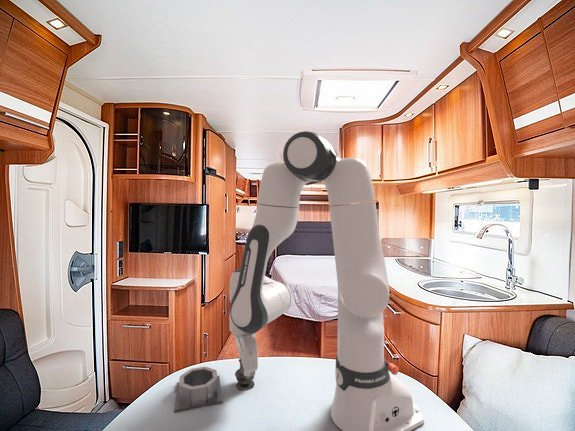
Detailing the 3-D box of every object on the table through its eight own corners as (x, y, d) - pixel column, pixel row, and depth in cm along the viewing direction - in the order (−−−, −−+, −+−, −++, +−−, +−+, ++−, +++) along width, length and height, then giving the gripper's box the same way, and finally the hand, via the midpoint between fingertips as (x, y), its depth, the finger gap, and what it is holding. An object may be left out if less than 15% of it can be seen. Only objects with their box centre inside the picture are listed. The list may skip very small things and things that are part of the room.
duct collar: (219, 377, 89) (219, 362, 88) (222, 403, 77) (222, 386, 77) (176, 384, 85) (176, 369, 85) (174, 412, 74) (173, 394, 73)
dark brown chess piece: (251, 392, 81) (251, 350, 81) (231, 389, 83) (231, 348, 82) (258, 380, 87) (257, 340, 87) (239, 377, 88) (239, 338, 88)
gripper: (263, 336, 75) (263, 389, 76) (249, 309, 95) (249, 351, 95) (239, 340, 73) (239, 393, 74) (230, 311, 93) (230, 354, 93)
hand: (245, 369), depth 85 cm, fingers closed on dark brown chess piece, 3 cm apart
